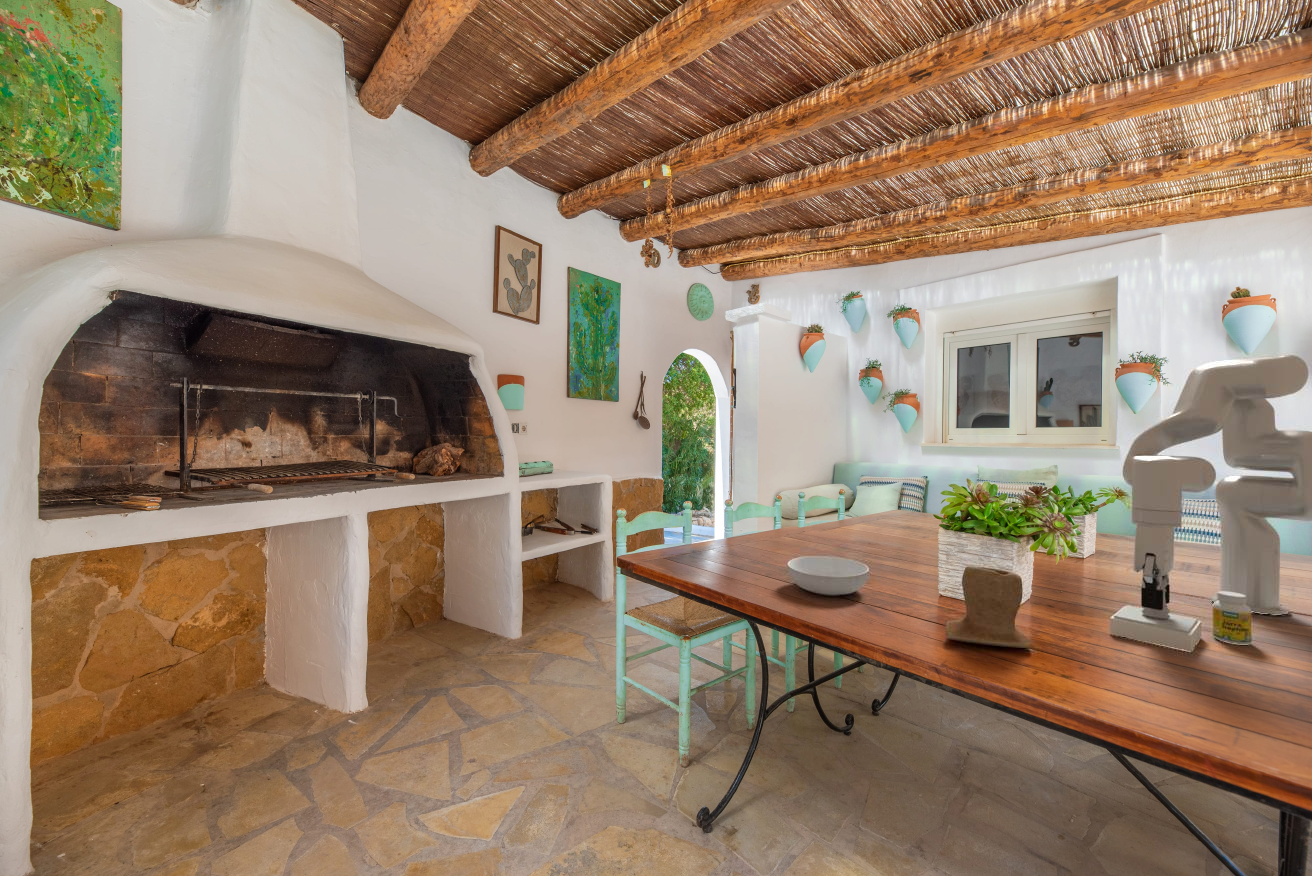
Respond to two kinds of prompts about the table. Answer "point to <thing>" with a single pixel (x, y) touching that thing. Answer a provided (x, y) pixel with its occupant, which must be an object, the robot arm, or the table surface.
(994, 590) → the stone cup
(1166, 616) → the rook chess piece
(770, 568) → the table surface
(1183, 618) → the plinth
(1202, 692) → the table surface
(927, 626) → the table surface
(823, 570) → the serving bowl
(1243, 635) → the supplement bottle
